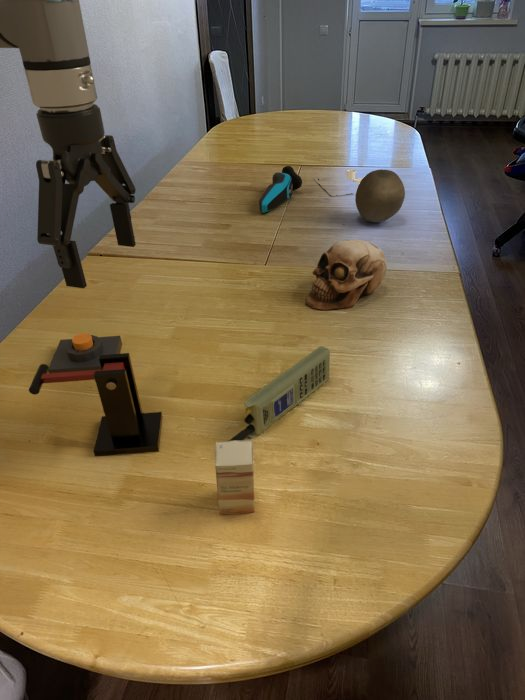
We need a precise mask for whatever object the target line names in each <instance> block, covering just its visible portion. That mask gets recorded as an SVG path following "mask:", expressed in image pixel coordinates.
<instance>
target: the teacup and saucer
mask: <svg viewBox="0 0 525 700" xmlns="http://www.w3.org/2000/svg"><path fill="white" fill-rule="evenodd" d="M356 173H357V170H356V169H354V168H353V169H352V168H351V169H347V170H346V171H345V176H347V179H348V180H353V182H356V183H360V182H361V180H362V178H358V179H355V175H357V174H356Z"/></svg>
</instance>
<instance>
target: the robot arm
mask: <svg viewBox="0 0 525 700" xmlns="http://www.w3.org/2000/svg"><path fill="white" fill-rule="evenodd" d="M0 49H18V50H19V53H20V57H21V61H22V65H23V70H24V73H25V74H24V75H25V77H26V81H27V86H28V89H29V93H30V97H31V102H32V104H33V105H34V106H35V107H37V108H39V109H37V112H36V113H35V114H36V119H37V122H38V126H39V130H40V133H41V138H42V140H43V142H44V143H46V144H47V145H48V146H49V147H50V148H51V149H52V159H47V160H43V159H38V160H36V162H35V167H36V174H37V178H38V199H37V201H38V203H37V206H38V207H37V236H36V237H37V243H38V244H40V245H44V246H45V245H46V246H52V247H53V251H54V254H55V257H56V261H57V265H58V266H59V268H60V269H61V271H62V274H63V278H64V282H65V286H66V287H71V288H77V289H85V288H87V286H88V284H87V281H86V277H85V272H84V268H83V265H82V262H81V258H80V253H79V250H78V249H79V248H78V246H77V245H78V244H77V242H76V240H71V239H72V234H73V229H74V223H75V220H76V219H75V217H76V212H77V208H78V203H79V199H80V195H81V194H82V193H84V190H85V187H86V186H88V185H89V184H90V183H91V182H95V183H96V185H98V186H99V187H100V189H102V190H103V192H104V193H105V194H106V195H107V196H108V198H110V199H111V201H112V202H111V203H110V204H109V209H110V212H111V217H112V222H113V228H114V232H115V237H116V242H117V246H119V247H120V246H121V247H130V248H135V246H136V239H135V233H134V228H133V227H134V226H133V222H132V214H131V209H130V205H129V204H134V203H135V202H136V196H135V194H136V187H135V185H134V182H133V181H132V179H131V177H130V175H129V172H128V171H127V168H126V166H125V165H124V162H123V161H122V158H121V157H120V154H119V152H118V151H117V146H116V142H115V139H114V136H113V135H109V134H105V133H106V132H105V127H104V122H103V115H102V112H101V107H100V106H98V105H97V104H96V103H95V102H97V100H98V93H97V89H96V85H95V78H94V75H93V69H92V65H91V64H92V63H91V58H90V51H89V47H88V41H87V36H86V31H85V23H84V19H83V14H82V8H81V4H80V0H0ZM66 182H67V183H66Z"/></svg>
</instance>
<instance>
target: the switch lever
mask: <svg viewBox="0 0 525 700" xmlns="http://www.w3.org/2000/svg"><path fill="white" fill-rule="evenodd" d="M119 369H125V368H124V363H123V362H117V363H105V364H104V367H103V369H102V370H89V371H75V372H62V373H49V372H48V370H49V365H48V364H46V363H41V364H39V366H38V368H37V369H36V372H35V374H34V377H33V379H32V381H31V384H30V386H29V388H28V392H29V393H30V394H31V395H35V396H36V395H38V394H39V393H40V392H41V389H42V386H43V384H53V383H54V384H55V383H69V382H82V381H95V378H94V373H95V371H106V370H119Z"/></svg>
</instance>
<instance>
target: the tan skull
mask: <svg viewBox="0 0 525 700" xmlns="http://www.w3.org/2000/svg"><path fill="white" fill-rule="evenodd" d="M386 259H387V258H386V256H385V254H384V252H383V251H382V250H381V248H380V247H378V246H377V245H375V244H374V243H372V242H369V241H366V240H363V239H347V240H341V241H337V242H335V243H333V245H331V246H330V247H329V248H328V250H327V251H325V252H323V253H322V254H321V256H320V258H319V260H318V262H317V265H316V267H315V269H314V270H312V275H313V276H315V279H314V280H313V282H312V285H311V290H310V291H309V293H308V294H307V295H306V297H305V299H304V303H305V304H306V305H308V306H309V307H310V308H312V309H316V310H321V311H327V310H334V309H337V310H340V309H343V308H346V309H348V308H352V307H353V306H354V305H355V304H356V303H357V301H358V300H359V298H360V296H367V295H371V294H372V293H373V292H375V291H376V290H377V289H378V288H379V287H380V286H381V284H382V283H383V281H384V279H385V276H386V272H387V267H388V265H387V260H386Z"/></svg>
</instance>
